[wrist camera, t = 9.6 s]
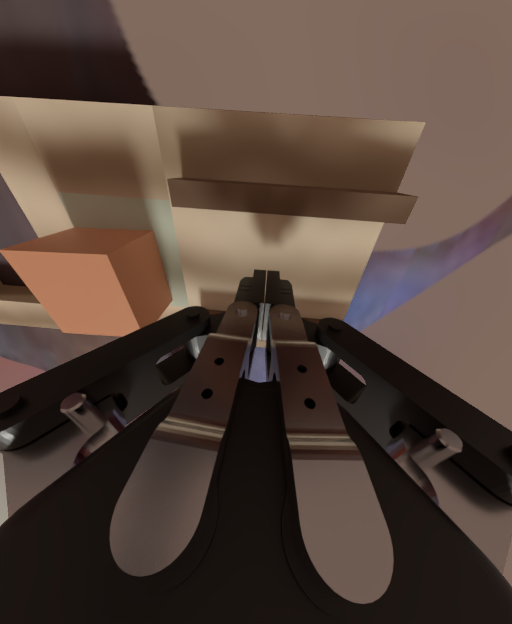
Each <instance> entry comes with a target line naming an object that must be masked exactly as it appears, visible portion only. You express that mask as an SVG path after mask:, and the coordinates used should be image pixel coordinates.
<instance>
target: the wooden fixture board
mask: <svg viewBox="0 0 512 624" xmlns="http://www.w3.org/2000/svg"><path fill="white" fill-rule="evenodd" d="M424 126H425V122H409V121H394V120H378V119H362V118H346V117H330V116H313V115H296V114H281V113H265V112H249V111H232V110H216V109H201V108H185V107H184V108H183V107H167V106H153V105H137V104H121V103H104V102H88V101H72V100H56V99H40V98H24V97H8V96H0V173H1V175H2V176H3V178H4V180H5V181H6V183H7V185H8V187H9V188H10V190H11V192H12V193H13V195H14V197H15V198H16V200H17V202H18V203H19V205H20V207H21V208H22V210H23V212H24V213H25V215H26V217H27V218H28V220H29V222H30V223H31V225H32V227H33V229H34V230H35V232H36V234H37V235H38V237H39V238H41V237H44V236H47V235H51V234H54V233H57V232H61V231H64V230H67V229H71V228H100V229H127V230H153V232H154V235H155V239H156V242H157V246H158V249H159V253H160V256H161V260H162V264H163V267H164V271H165V274H166V278H167V281H168V285H169V288H170V292H171V295H172V299H173V300H172V302H171V303H170V304H169V306H168V307H167V308H166V310H165V311H164V312H163V314H162V315H161V316H160V318H159V319H158V320H160V319H162V318H165V317H167V316H169V315H171V314H173V313H176V312H178V311H180V310H182V309H184V308H187V307H191V306H201V307H204V308H206V309H207V310H208V311H209V313H210V315H212V314H219V313H223V312H226V310H227V308H228V306H229V305H230V304H232V303H234V300H235V297H236V293H237V290H238V286H239V283H240V280H241V279H243V278H244V277H253V274H254V269H258V270H266V280H267V270H272V271H280V279H282V280H288V281H289V282H290V283H291V284H292V289H293V295H294V302H295V308H296V309H297V310H298V311H299V312H300V315H301V317H302V318H303V319H305V320H307V321H310V322H314V323H317V324H318V323H319V321H320V320H321V319H323V318H336V319H339V320H342V321H343V320H344V317H345V315H346V313H347V310H348V308H349V305H350V303H351V301H352V298H353V296H354V293H355V291H356V289H357V286H358V284H359V281H360V279H361V277H362V274H363V272H364V269H365V267H366V265H367V262H368V260H369V257H370V255H371V253H372V250H373V248H374V245H375V243H376V241H377V238H378V236H379V234H380V231H381V228H382V226H383V224H384V223H398V224H405V223H406V221H407V219H408V217H409V215H410V213H411V211H412V209H413V207H414V204H415V203H416V201H417V198H418V197H417V196H412V195H406V194H401V193H397V190H398V188H399V186H400V183H401V181H402V178H403V176H404V174H405V171H406V169H407V166H408V164H409V161H410V159H411V157H412V154H413V152H414V150H415V147H416V145H417V142H418V140H419V138H420V135H421V133H422V130H423V128H424ZM265 291H266V283H265ZM264 302H265V297H264ZM263 318H264V310H263ZM158 320H157V321H158ZM0 324H11V325H22V326H33V327H44V328H55V329H60V328H59V327H58V325H57V324H56V323H55V322H54V320H53V319H52V318H51V316H50V315H49V314H48V313H47V311H46V310H45V309H44V307H43V306H42V305H41V304H40V302H39V301H38V300H37V298H36V297H35V296H34V295H33V293H32V292H31V291H30V289H29V288H28V287H25V286H14V285H3V284H2V282H1V281H0ZM262 333H263V321H262V332H261V340H257V345H256V347H266V340H262Z"/></svg>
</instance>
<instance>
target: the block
mask: <svg viewBox="0 0 512 624" xmlns="http://www.w3.org/2000/svg"><path fill="white" fill-rule="evenodd" d="M0 252H1V253H2V255H3V256H4V257H5V258H6V260H7V261H8V262H9V264H10V265H11V266H12V267H13V269H14V270H15V271H16V273H17V274H18V275H19V276H20V278H21V279H22V280H23V282H24V283H25V284H26V286H27V287H28V288H29V289H30V291H31V292H32V293H33V295H34V296H35V297H36V298H37V300H38V301H39V302H40V304H41V305H42V306H43V307H44V309H45V310H46V311H47V313H48V314H49V315H50V316H51V318H52V319H53V320H54V322H55V323H56V324H57V325H58V327H59V328H60V329H61V331H62V332H63V333H75V334H91V335H106V336H122V337H123V336H125V335H127V334H130V333H132V332H134V331H136V330H138V329H141V328H143V327H145V326H147V325H149V324H151V323H154V322H156V321H157V320H158V319H159V318H160V316H161V315H162V314H163V312H164V311H165V310H166V308H167V307H168V306H169V304H170V303H171V302H172V300H173V299H172V295H171V292H170V288H169V285H168V281H167V278H166V274H165V271H164V267H163V264H162V260H161V256H160V253H159V249H158V246H157V242H156V239H155V235H154V232H153V230H127V229H100V228H71V229H67V230H64V231H61V232H57V233H54V234H51V235H47V236H44V237H41V238H37V239H34V240H31V241H27V242H24V243H21V244H17V245H14V246H11V247H7V248H4V249H1V250H0Z"/></svg>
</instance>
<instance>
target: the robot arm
mask: <svg viewBox="0 0 512 624" xmlns="http://www.w3.org/2000/svg"><path fill="white" fill-rule="evenodd" d="M265 283H266V291H265ZM264 297H265V302H264ZM263 310H264V318H263ZM262 321H263V333H262V340H266V348H265V363H266V382H262V383H258V382H254V381H251V380H249V378H250V373H251V368H252V363H253V358H254V353H255V347H256V345H257V340H261V332H262ZM181 345H183V346H184V348H183V349H182V350H180V351H178V352H177V353H175V354H173V355H172V356H170V357H168V358H167V359H165V360H163V361H162V362H160V363H158V364H156V363H157V361H158V360H159V359H160V358H161V357H162V356H164V355H166V354H167V353H169V352H171V351H172V350H174V349H176V348H178V347H179V346H181ZM340 359H342V360H343V361H344V362H345V363H346V364H348V365H349V366H350V367H352V368H353V369H354V370H355V371H356V372H358V373H359V374H360V375H361V376H362V377H363V378H364V380H365V382H366V385H365V384H363V383H362V382H361V381H359V380H358V379H357V378H356V377H355V376H354V375H352V374H351V373H350V372H349V371H348V370H346V369H345V368H344V367H343V366H342V365H340V364H339V361H340ZM182 384H184V385H183V386H181V385H182ZM180 386H181V387H180ZM178 387H179V388H178ZM177 388H178V389H177ZM175 389H176V390H175ZM157 402H158V403H157ZM156 403H157V404H156ZM153 405H154V406H153ZM152 406H153V407H152ZM150 407H151V408H150ZM149 408H150V409H149ZM148 409H149V410H148ZM146 410H147V411H146ZM145 411H146V412H145ZM143 412H145V413H143ZM142 413H143V414H142ZM141 414H142V415H141ZM139 415H141V416H139ZM138 416H139V417H138ZM137 417H138V418H137ZM135 418H137V419H136V420H134V419H135ZM132 420H134V421H133V422H132V423H130V424H129V425H128V426H126V425H127V424H128V423H129V422H131V421H132ZM125 426H126V427H125ZM0 453H2V454H3V461H4V471H5V483H6V493H7V505H8V516H9V518H8V519H7V520H6V521H5V522H4V523H3V524H2V525H1V526H0V624H512V587H511V585H510V584H509V583H508V581H507V580H506V579H505V578H504V576H503V575H502V574H503V570H504V566H505V562H506V558H507V554H508V550H509V545H510V542H511V538H512V431H510V430H509V429H507V428H505V427H504V426H502V425H501V424H499V423H498V422H496V421H495V420H493V419H492V418H490V417H489V416H487V415H486V414H484V413H483V412H481V411H480V410H478V409H477V408H475V407H474V406H472V405H470V404H469V403H467V402H466V401H464V400H463V399H461V398H460V397H458V396H457V395H455V394H453V393H452V392H450V391H449V390H448V389H446V388H444V387H443V386H441V385H440V384H438V383H437V382H435V381H434V380H432V379H431V378H429V377H428V376H426V375H425V374H423V373H421V372H420V371H419V370H417V369H415V368H414V367H412V366H411V365H409V364H408V363H406V362H405V361H403V360H402V359H400V358H399V357H397V356H396V355H394V354H392V353H391V352H389V351H388V350H386V349H385V348H383V347H382V346H380V345H379V344H377V343H376V342H374V341H373V340H371V339H370V338H368V337H366V336H365V335H363V334H362V333H360V332H359V331H357V330H356V329H354V328H353V327H351V326H350V325H348V324H347V323H345V322H343V321H342V320H339V319H336V318H323V319H321V320H320V321H319V323H318V324H317V323H314V322H310V321H307V320H305V319H303V318H302V317H301V315H300V312H299V311H298V310H297V309H296V308H295V302H294V295H293V289H292V284H291V283H290V282H289V281H288V280H282V279H280V271H272V270H267V280H266V270H258V269H254V274H253V277H244V278H243V279H241V280H240V283H239V286H238V290H237V293H236V297H235V300H234V303H232V304H230V305H229V306H228V308H227V310H226V312H223V313H219V314H212V315H210V313H209V311H208V310H207V309H206V308H204V307H201V306H191V307H187V308H184V309H182V310H180V311H178V312H176V313H173V314H171V315H169V316H167V317H165V318H162V319H160V320H158V321H156V322H154V323H151V324H149V325H147V326H145V327H143V328H141V329H138V330H136V331H134V332H132V333H130V334H127V335H125V336H123V337H121V338H119V339H116V340H114V341H112V342H110V343H108V344H106V345H103V346H101V347H99V348H97V349H95V350H92V351H90V352H88V353H86V354H84V355H82V356H79V357H77V358H75V359H73V360H71V361H68V362H66V363H64V364H62V365H60V366H57V367H55V368H53V369H51V370H49V371H47V372H44V373H42V374H40V375H38V376H36V377H33V378H31V379H29V380H27V381H25V382H23V383H20V384H18V385H16V386H14V387H12V388H9V389H7V390H5V391H3V392H1V393H0Z"/></svg>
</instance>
